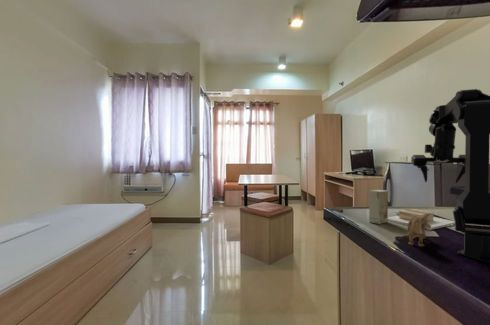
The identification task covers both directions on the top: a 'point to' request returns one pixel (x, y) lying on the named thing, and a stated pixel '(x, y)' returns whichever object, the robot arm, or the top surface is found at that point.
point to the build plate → (434, 224)
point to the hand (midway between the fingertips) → (440, 182)
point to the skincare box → (378, 206)
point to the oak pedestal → (415, 214)
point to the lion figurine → (418, 229)
